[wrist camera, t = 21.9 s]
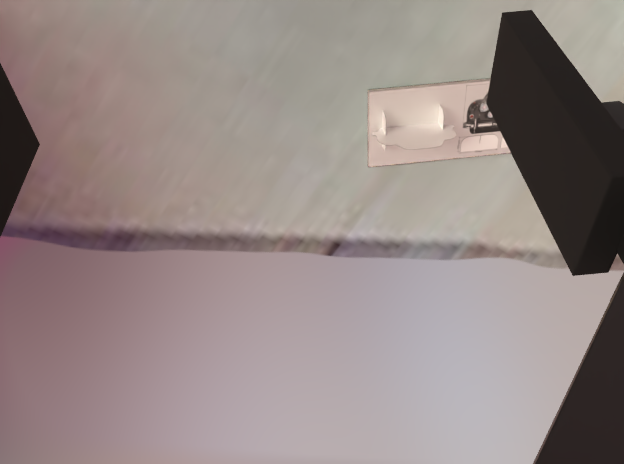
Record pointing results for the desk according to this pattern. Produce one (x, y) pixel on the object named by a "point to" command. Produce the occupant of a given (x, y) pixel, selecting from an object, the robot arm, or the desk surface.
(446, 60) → the desk surface
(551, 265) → the desk surface
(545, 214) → the robot arm
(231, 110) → the desk surface
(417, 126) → the white plate with bracket
